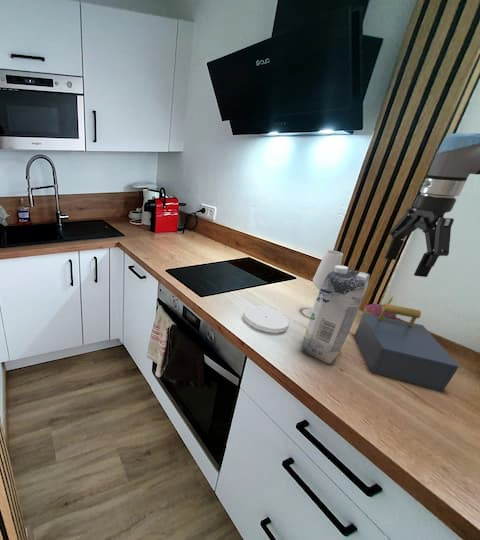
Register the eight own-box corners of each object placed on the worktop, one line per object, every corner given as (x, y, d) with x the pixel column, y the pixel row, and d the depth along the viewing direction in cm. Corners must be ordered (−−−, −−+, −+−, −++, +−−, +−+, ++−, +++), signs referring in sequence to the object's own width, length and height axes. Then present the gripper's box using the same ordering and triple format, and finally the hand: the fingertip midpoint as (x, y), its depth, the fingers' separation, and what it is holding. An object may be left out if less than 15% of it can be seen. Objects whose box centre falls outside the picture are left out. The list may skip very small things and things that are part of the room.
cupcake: (397, 332, 95) (413, 301, 90) (369, 329, 96) (383, 298, 91) (379, 318, 103) (393, 289, 98) (354, 315, 104) (366, 286, 99)
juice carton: (341, 351, 85) (376, 268, 74) (332, 368, 78) (369, 280, 68) (307, 337, 91) (335, 259, 80) (297, 352, 84) (325, 268, 73)
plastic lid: (234, 314, 102) (235, 308, 101) (266, 310, 106) (268, 304, 105) (261, 338, 90) (263, 331, 89) (297, 332, 94) (299, 325, 93)
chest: (354, 335, 93) (362, 316, 90) (412, 348, 87) (422, 329, 84) (371, 372, 77) (381, 350, 75) (442, 391, 72) (457, 369, 69)
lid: (361, 314, 91) (369, 297, 88) (421, 327, 85) (431, 309, 83) (381, 350, 75) (391, 331, 72) (457, 369, 69) (471, 348, 66)
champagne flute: (326, 320, 101) (350, 257, 91) (305, 317, 102) (327, 254, 92) (319, 310, 107) (341, 250, 97) (299, 308, 108) (319, 248, 98)
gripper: (392, 188, 90) (367, 252, 98) (459, 202, 67) (418, 282, 76) (420, 190, 88) (392, 254, 97) (498, 205, 66) (452, 286, 74)
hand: (404, 267), depth 86 cm, fingers open, 13 cm apart
